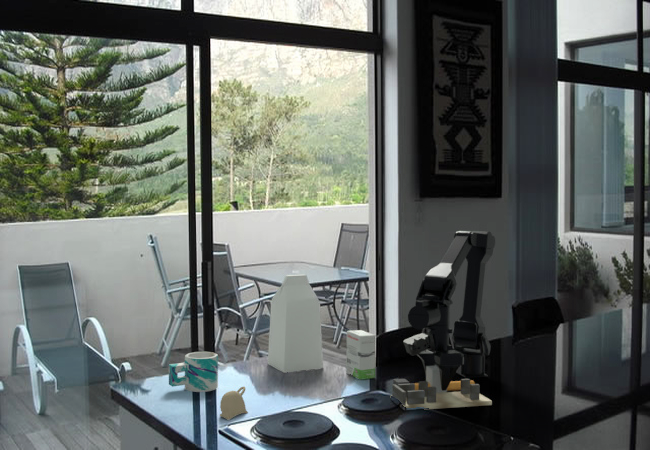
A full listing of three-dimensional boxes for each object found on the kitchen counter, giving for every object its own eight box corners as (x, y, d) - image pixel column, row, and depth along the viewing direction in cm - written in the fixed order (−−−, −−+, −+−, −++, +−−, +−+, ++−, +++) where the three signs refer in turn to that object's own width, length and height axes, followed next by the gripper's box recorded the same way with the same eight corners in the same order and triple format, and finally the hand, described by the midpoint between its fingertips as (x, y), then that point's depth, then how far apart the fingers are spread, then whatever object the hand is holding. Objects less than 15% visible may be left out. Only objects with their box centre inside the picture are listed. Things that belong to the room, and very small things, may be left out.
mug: (222, 389, 183) (222, 356, 183) (176, 396, 177) (176, 361, 177) (209, 381, 190) (209, 350, 190) (164, 388, 184) (164, 355, 184)
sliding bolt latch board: (474, 394, 182) (474, 376, 181) (491, 404, 173) (492, 386, 173) (390, 399, 176) (390, 381, 176) (404, 410, 167) (404, 391, 167)
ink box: (375, 378, 196) (376, 334, 196) (359, 380, 194) (360, 336, 194) (361, 371, 204) (361, 329, 203) (345, 372, 202) (345, 330, 201)
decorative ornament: (214, 417, 161) (214, 393, 161) (239, 408, 168) (239, 385, 168) (227, 420, 159) (228, 396, 158) (253, 411, 165) (253, 388, 165)
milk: (284, 372, 201) (285, 278, 200) (267, 363, 211) (268, 273, 210) (323, 368, 206) (324, 276, 205) (305, 360, 217) (306, 272, 215)
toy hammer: (469, 386, 189) (469, 363, 189) (476, 391, 185) (476, 367, 185) (392, 391, 183) (392, 367, 183) (397, 395, 180) (398, 371, 179)
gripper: (394, 318, 191) (393, 378, 191) (422, 332, 173) (420, 397, 173) (434, 317, 193) (433, 375, 194) (465, 330, 175) (464, 394, 176)
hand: (436, 385), depth 184 cm, fingers open, 9 cm apart
